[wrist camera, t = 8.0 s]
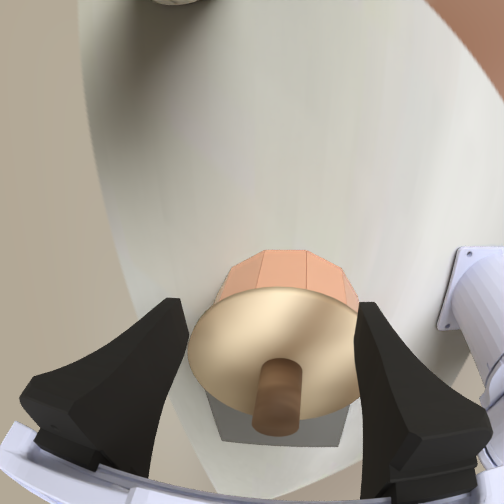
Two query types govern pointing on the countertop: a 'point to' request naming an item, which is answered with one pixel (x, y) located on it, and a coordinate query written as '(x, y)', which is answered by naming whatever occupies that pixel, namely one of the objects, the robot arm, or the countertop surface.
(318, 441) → the mat
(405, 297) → the countertop surface
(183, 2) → the spray can
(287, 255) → the bowl
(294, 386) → the lid
